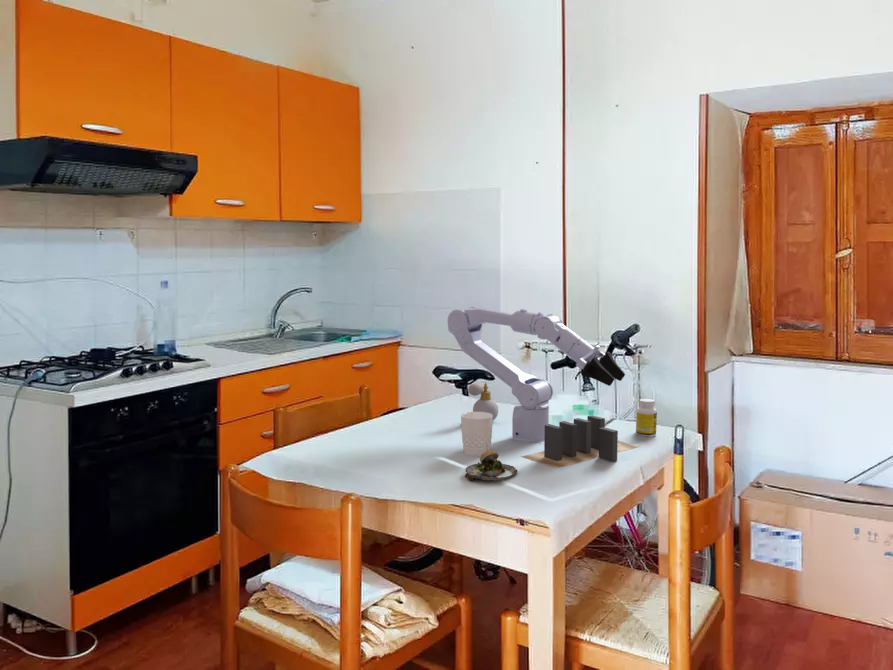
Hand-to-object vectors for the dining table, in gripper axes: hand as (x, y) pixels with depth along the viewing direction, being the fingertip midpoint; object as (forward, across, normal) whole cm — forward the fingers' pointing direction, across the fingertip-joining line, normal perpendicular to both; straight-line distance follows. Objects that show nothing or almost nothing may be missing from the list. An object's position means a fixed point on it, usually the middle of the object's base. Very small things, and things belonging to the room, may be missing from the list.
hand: (617, 380), depth 194 cm
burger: (-4, -34, +25) cm, 42 cm away
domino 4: (+6, -2, +18) cm, 18 cm away
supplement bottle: (+11, +20, +15) cm, 27 cm away
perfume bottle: (-26, +9, +39) cm, 48 cm away
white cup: (-14, -20, +31) cm, 40 cm away
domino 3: (+4, -6, +18) cm, 20 cm away
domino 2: (+2, -11, +20) cm, 22 cm away
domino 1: (+1, -16, +20) cm, 26 cm away
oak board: (+4, -6, +19) cm, 20 cm away
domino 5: (+11, -9, +15) cm, 21 cm away
